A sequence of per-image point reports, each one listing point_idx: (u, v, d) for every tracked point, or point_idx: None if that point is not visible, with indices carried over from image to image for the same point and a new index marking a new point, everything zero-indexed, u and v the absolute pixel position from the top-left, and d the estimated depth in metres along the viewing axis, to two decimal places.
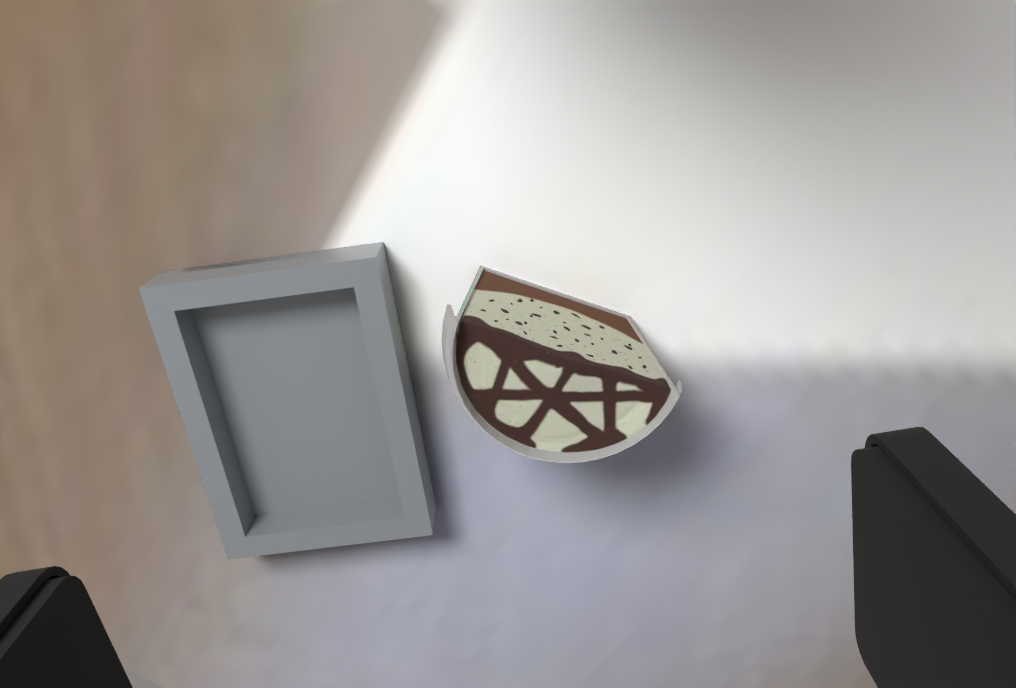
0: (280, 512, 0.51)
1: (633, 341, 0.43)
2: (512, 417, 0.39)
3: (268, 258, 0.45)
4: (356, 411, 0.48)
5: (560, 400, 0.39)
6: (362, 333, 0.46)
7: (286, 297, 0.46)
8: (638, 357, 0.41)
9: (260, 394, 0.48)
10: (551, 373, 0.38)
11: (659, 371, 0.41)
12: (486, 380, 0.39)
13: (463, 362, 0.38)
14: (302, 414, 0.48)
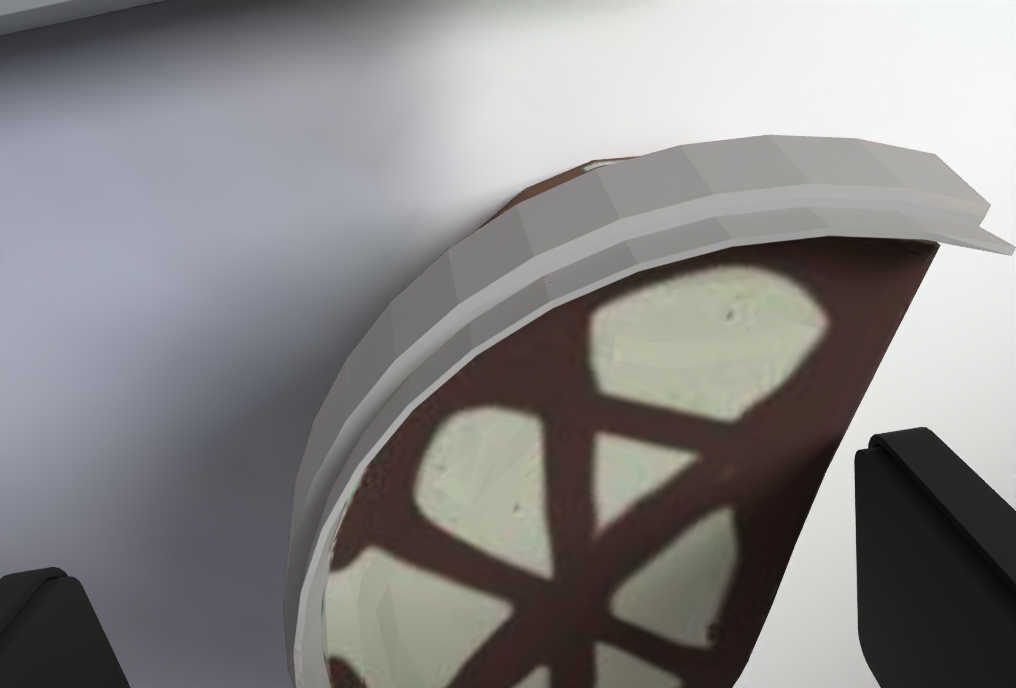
0: None
1: None
2: (461, 477, 0.09)
3: None
4: None
5: (552, 638, 0.10)
6: None
7: None
8: None
9: None
10: (679, 610, 0.10)
11: None
12: (636, 367, 0.09)
13: (728, 264, 0.08)
14: None
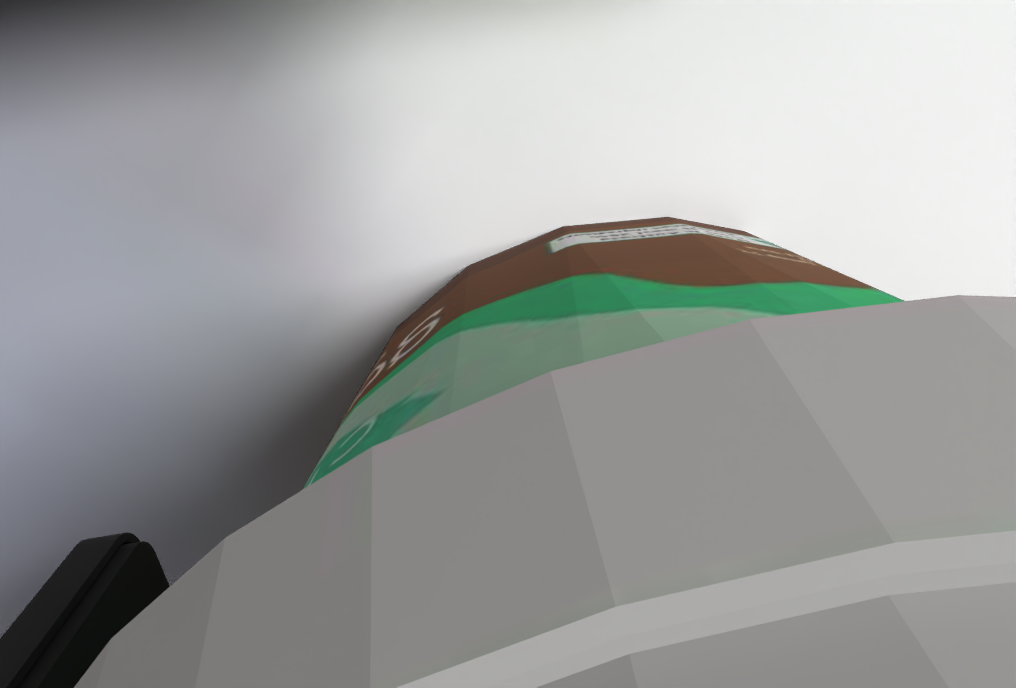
0: None
1: None
2: None
3: None
4: None
5: None
6: None
7: None
8: None
9: None
10: None
11: None
12: None
13: None
14: None
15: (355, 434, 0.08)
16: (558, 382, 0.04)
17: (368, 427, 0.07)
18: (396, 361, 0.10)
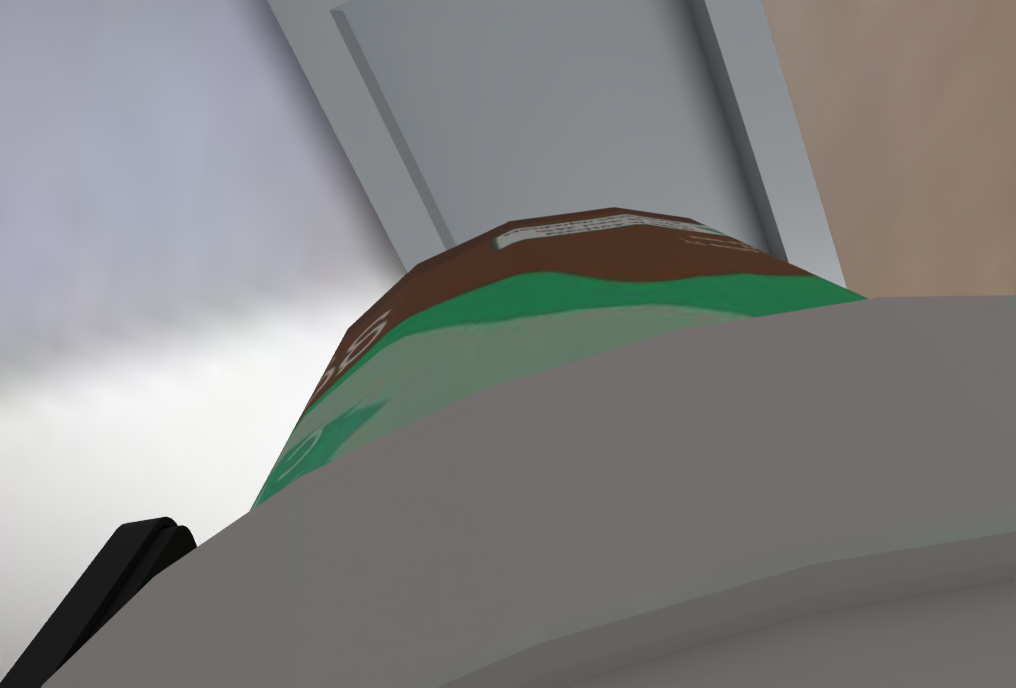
0: None
1: None
2: None
3: None
4: (487, 175, 0.27)
5: None
6: None
7: None
8: None
9: (658, 161, 0.27)
10: None
11: None
12: None
13: None
14: (580, 142, 0.27)
15: (302, 447, 0.08)
16: (485, 403, 0.04)
17: (315, 439, 0.07)
18: (344, 367, 0.09)
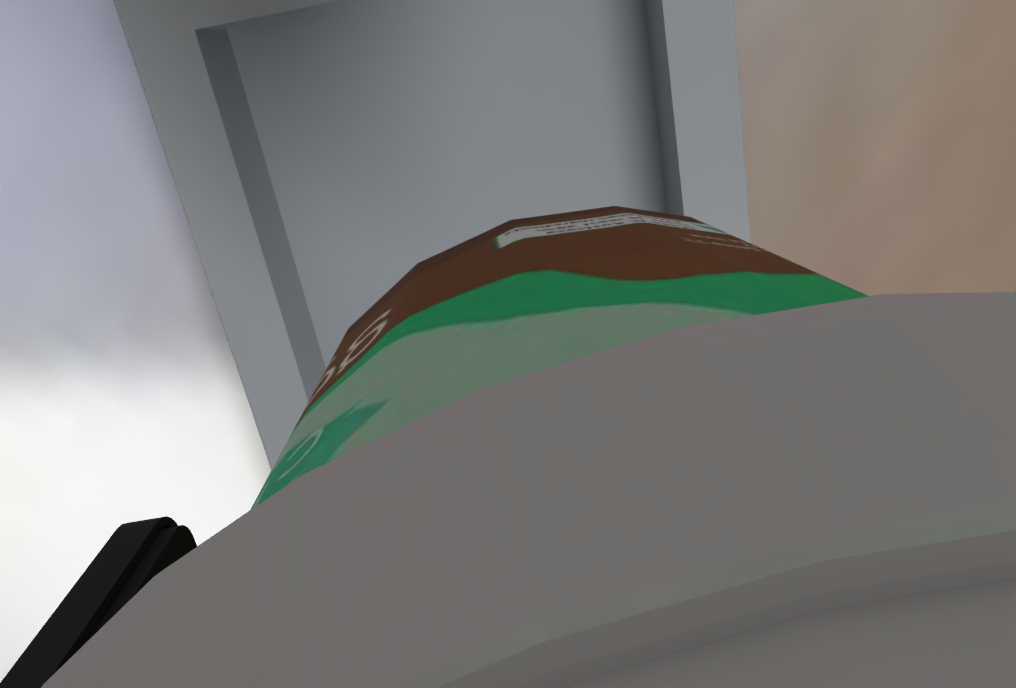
0: None
1: None
2: None
3: None
4: (373, 270, 0.21)
5: None
6: None
7: None
8: None
9: None
10: None
11: None
12: None
13: None
14: None
15: (303, 446, 0.08)
16: (487, 401, 0.04)
17: (315, 439, 0.07)
18: (345, 366, 0.09)
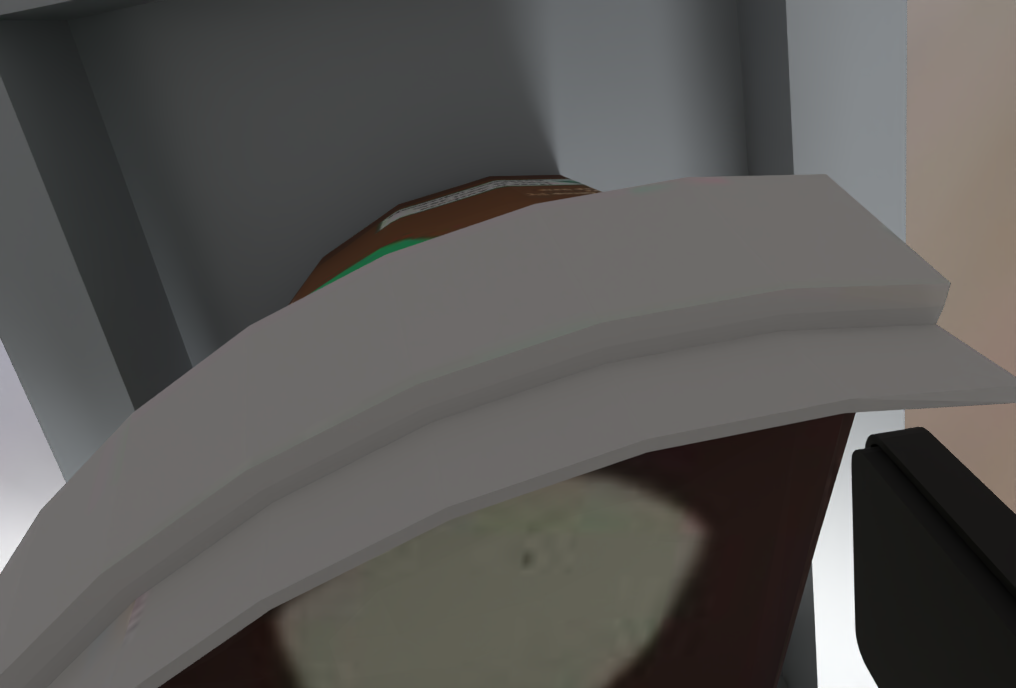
0: None
1: None
2: None
3: None
4: None
5: None
6: None
7: None
8: None
9: None
10: None
11: None
12: (387, 678, 0.05)
13: None
14: None
15: None
16: (251, 332, 0.05)
17: None
18: None
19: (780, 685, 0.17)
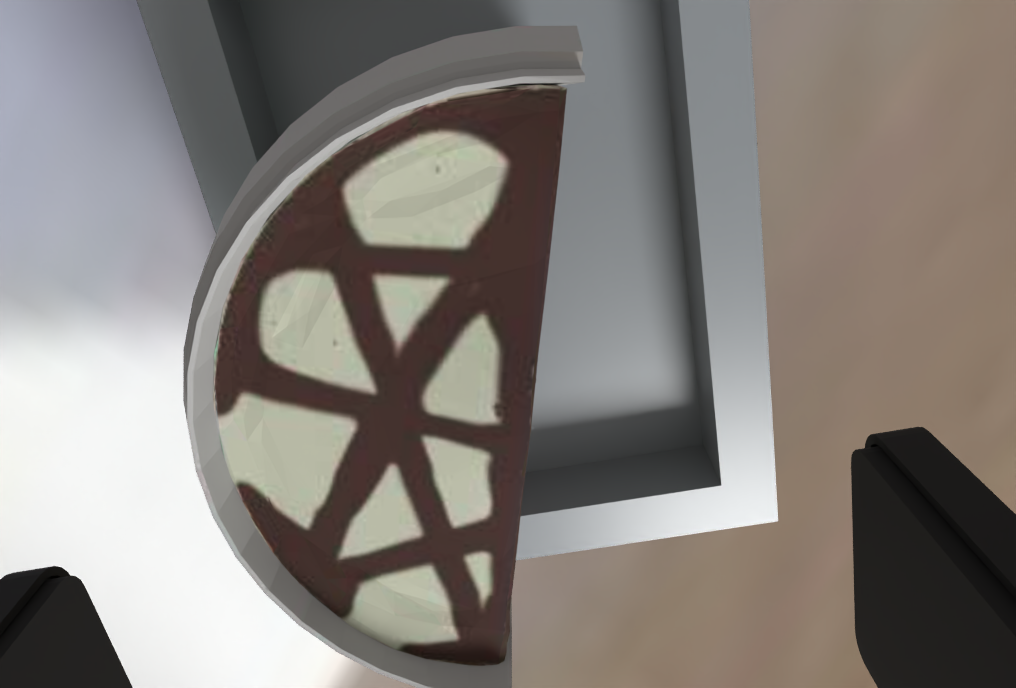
0: None
1: None
2: (289, 327, 0.13)
3: None
4: None
5: (391, 439, 0.14)
6: None
7: None
8: None
9: (591, 255, 0.22)
10: (471, 398, 0.13)
11: None
12: (384, 220, 0.12)
13: (423, 132, 0.12)
14: None
15: None
16: (338, 88, 0.12)
17: None
18: None
19: (700, 449, 0.24)
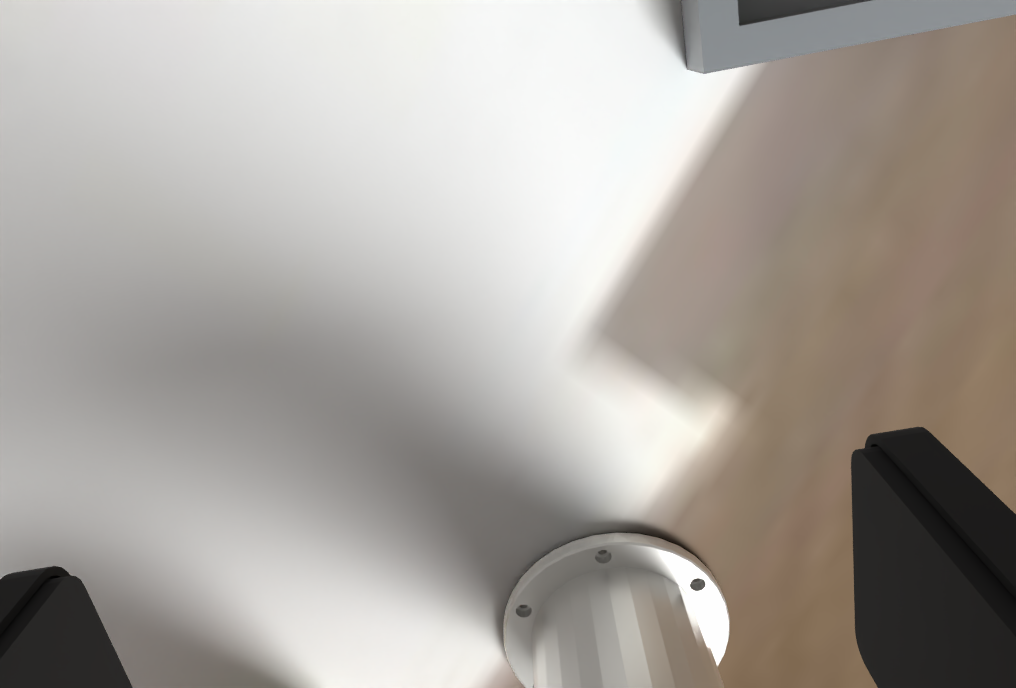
0: None
1: None
2: None
3: None
4: None
5: None
6: None
7: None
8: None
9: None
10: None
11: None
12: None
13: None
14: None
15: None
16: None
17: None
18: None
19: None
